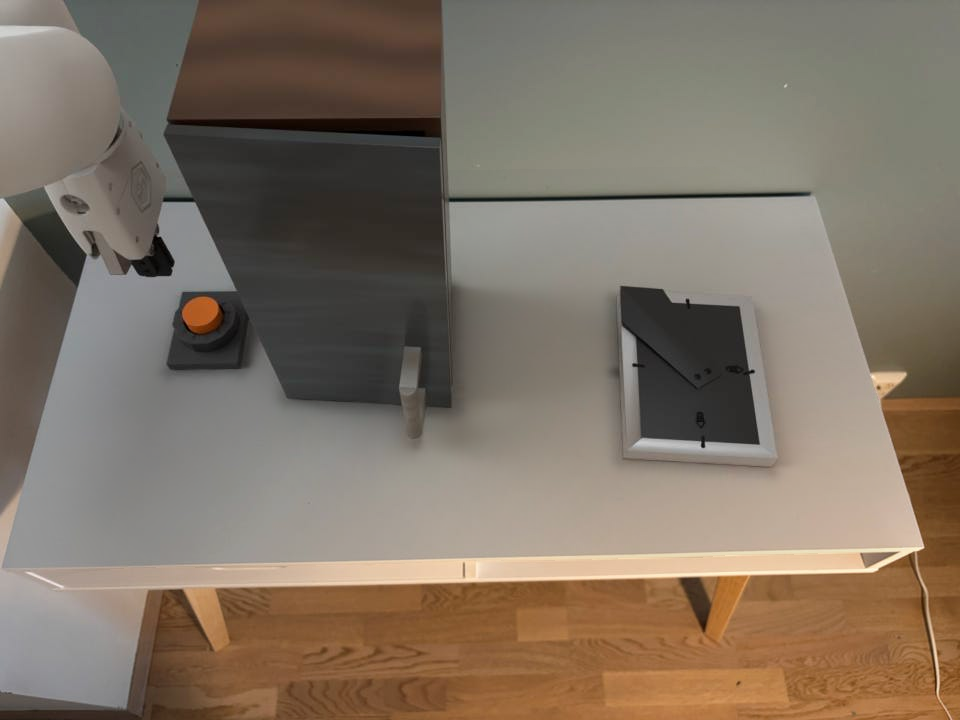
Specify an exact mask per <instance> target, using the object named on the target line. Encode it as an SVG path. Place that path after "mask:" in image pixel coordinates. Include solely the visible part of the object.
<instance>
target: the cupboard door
mask: <svg viewBox="0 0 960 720" xmlns="http://www.w3.org/2000/svg"><path fill="white" fill-rule="evenodd" d="M163 137H164V139H165V141H166V144H167V146H168V148H169V150H170V152H171V154H172V156H173V159H174V161H175V162H176V165H177V168H178V169H179V171H180V174H181V175H182V177H183V180H184V182H185V184H186V186H187V188H188V190H189V192H190V194H191V196H192V199H193V201H194V203H195V206H196V207H197V209H198V212H199V214H200V216H201V219H202V220H203V222H204V225H205V226H206V229H207V231H208V233H209V235H210V237H211V239H212V241H213V243H214V246H215V247H216V250H217V253H218V254H219V257H220V258H221V261H222V262H223V265H224V268H225V269H226V271H227V273H228V276H229V277H230V280H231V282H232V284H233V286H234V288H235V291H237V292H238V295H239V297H240V299H241V301H242V303H243V305H244V307H245V310H246V312H247V314H248V316H249V318H248V319H249V320H250V322H251V324H252V327H253V329H254V331H255V333H256V335H257V337H258V340H259V341H260V344H261V346H262V348H263V350H264V352H265V355H266V356H267V359H268V361H269V363H270V364H271V367H272V369H273V371H274V373H275V376H276V378H277V380H278V382H279V384H280V386H281V388H282V390H283V393H284V395H285V397H286V398H287V399H299V400H318V401H319V400H320V401H322V400H323V401H335V402H336V401H337V402H352V403H353V402H354V403H355V402H356V403H372V404H373V403H374V404H387V405H389V404H390V405H401V407H402V414H403V418H404V425H405V431H406V435H407V437H408V438H409V439H411V440H415V441H416V440H419V439H420V438H421V437H422V436H423V431H424V422H425V412H426V406H427V407H443V408H452V407H453V386H452V378H451V355H450V333H449V310H448V288H447V265H446V243H445V220H444V198H443V175H442V153H441V138H432V137H412V136H392V135H372V134H352V133H332V132H312V131H292V130H272V129H252V128H231V127H211V126H191V125H171V124H168V123H167V124H166V127H165V128H164V131H163Z"/></svg>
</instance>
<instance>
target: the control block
mask: <svg viewBox="0 0 960 720" xmlns="http://www.w3.org/2000/svg"><path fill="white" fill-rule="evenodd" d="M198 297H209V298H212V299H214V300H215V301H216V302H217V304H218V306H219V308H220V310H221V311H222V314H223V320H222V323H221V325H220V326H219V327H218V328H217V329H216V330H214V331H213V332H211V333H208V334H197V333H194V332H192V331H191V330H190V329H189V327H188V326H187V324H186V323H185V321H184V319H183V316H182V312H183V309H184V307H185V305H186V304H187V303H188V302H189V301H191V300H193V299H195V298H198ZM249 319H250V318H249V316H248V314H247V312H246V310H245V307H244V305H243V303H242V301H241V299H240V297H239V295H238V292H237V290H229V291H228V290H225V291H224V290H221V291H219V290H218V291H216V290H215V291H213V290H212V291H182V292H181V295H180V301H179V305H178V308H177V309H176V310H175V311H174V315H173V320H172V328H173V332H172V337H171V341H170V345H169V350H168V355H167V359H166V366H167V367H168V369H169V370H204V369H205V370H206V369H207V370H208V369H211V370H212V369H215V370H216V369H217V370H218V369H241V366H242V361H243V354H244V348H245V342H246V336H247V329H248V322H249Z"/></svg>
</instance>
